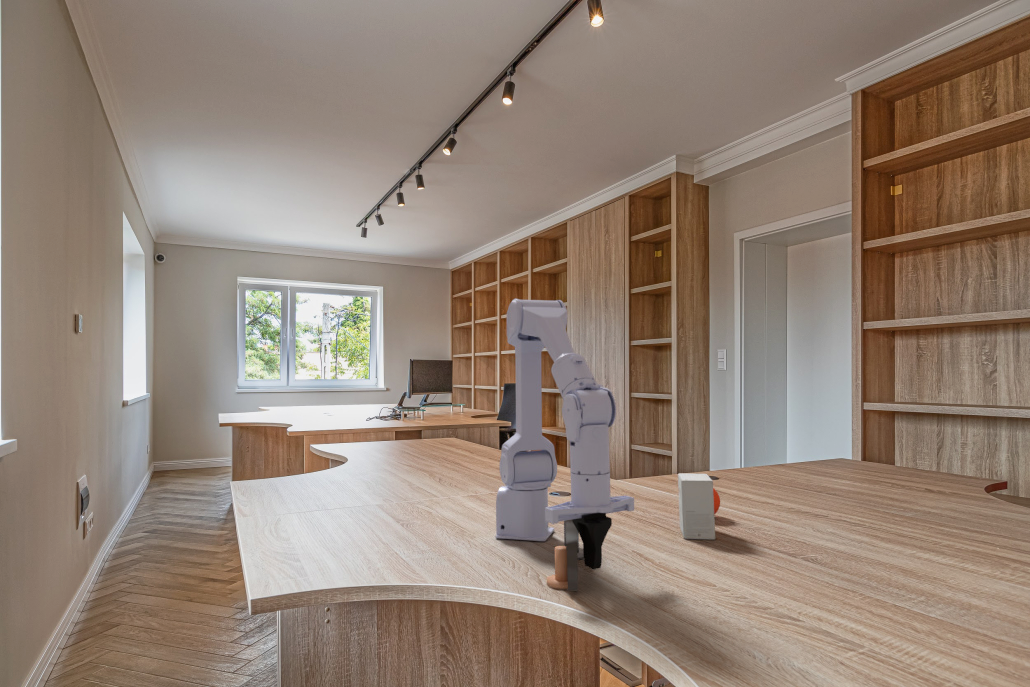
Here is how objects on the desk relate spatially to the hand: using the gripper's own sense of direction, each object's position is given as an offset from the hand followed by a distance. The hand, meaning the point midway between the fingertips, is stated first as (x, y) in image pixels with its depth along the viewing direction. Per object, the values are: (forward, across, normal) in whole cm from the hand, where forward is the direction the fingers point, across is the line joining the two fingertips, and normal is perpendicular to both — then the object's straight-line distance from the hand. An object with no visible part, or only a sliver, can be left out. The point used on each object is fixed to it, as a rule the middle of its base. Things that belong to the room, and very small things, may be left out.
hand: (592, 566), depth 83 cm
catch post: (+2, -4, +2) cm, 5 cm away
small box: (+2, +31, +10) cm, 32 cm away
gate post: (+2, +4, +11) cm, 12 cm away
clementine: (+2, +41, +18) cm, 45 cm away
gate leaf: (+1, -1, +3) cm, 4 cm away
